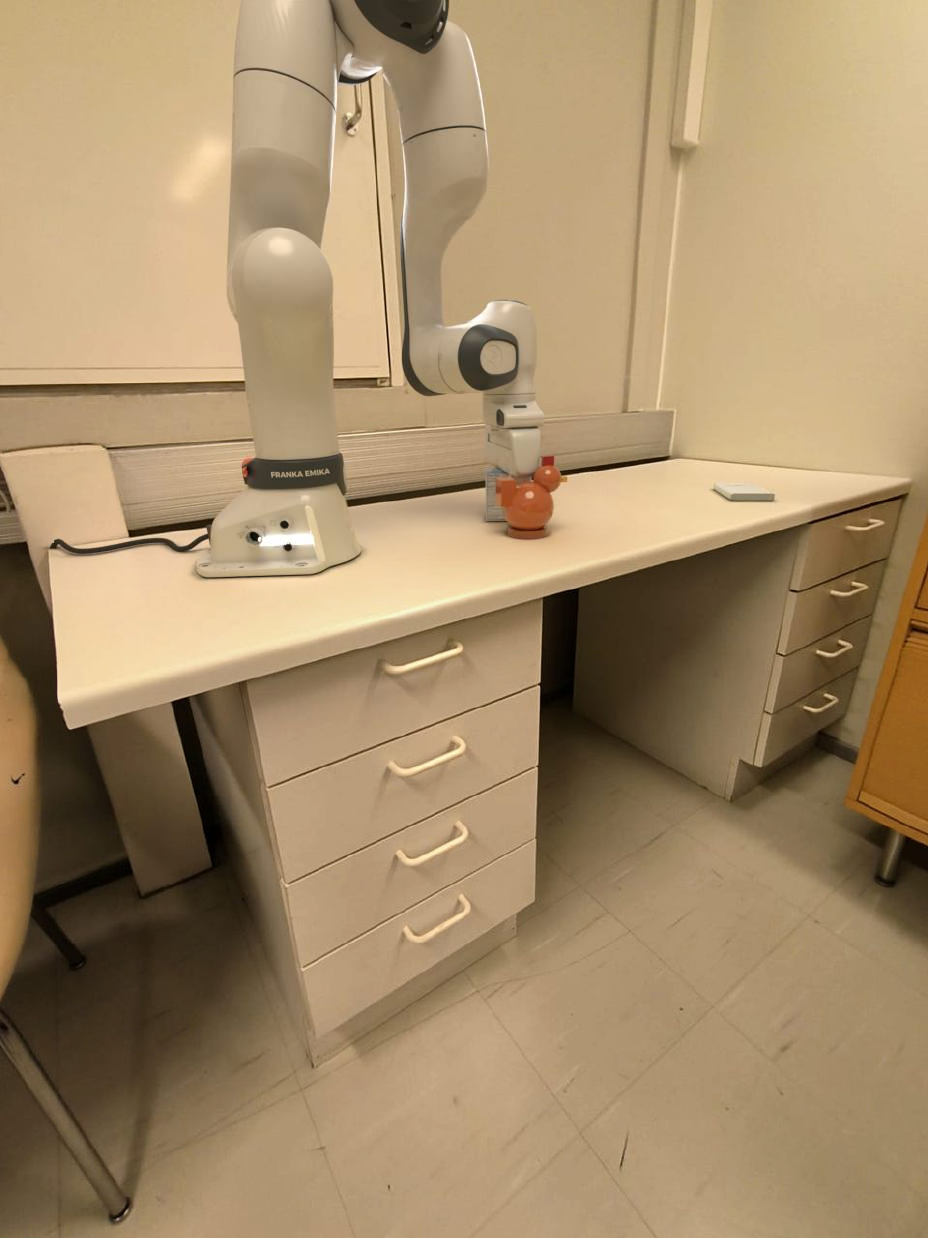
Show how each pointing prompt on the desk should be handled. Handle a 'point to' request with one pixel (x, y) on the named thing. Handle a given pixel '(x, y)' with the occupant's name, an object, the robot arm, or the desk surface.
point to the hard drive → (743, 492)
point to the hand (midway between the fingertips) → (508, 495)
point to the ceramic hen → (529, 500)
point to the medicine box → (492, 508)
